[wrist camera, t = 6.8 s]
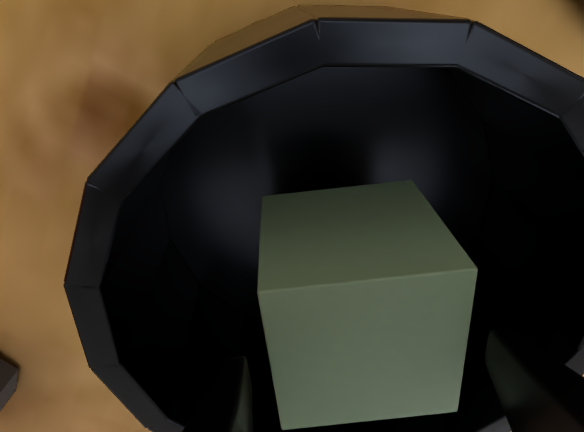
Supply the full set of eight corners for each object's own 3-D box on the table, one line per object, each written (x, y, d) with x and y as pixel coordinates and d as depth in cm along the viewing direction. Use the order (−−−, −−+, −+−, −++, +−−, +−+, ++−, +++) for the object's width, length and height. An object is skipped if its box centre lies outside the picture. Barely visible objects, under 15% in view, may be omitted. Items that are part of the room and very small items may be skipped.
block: (412, 178, 12) (479, 268, 8) (407, 297, 14) (458, 412, 10) (261, 195, 12) (257, 292, 8) (278, 310, 14) (281, 430, 10)
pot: (525, 277, 18) (642, 410, 12) (241, 368, 20) (229, 519, 14) (473, -75, 12) (661, -135, 6) (66, 106, 14) (-79, 189, 8)
